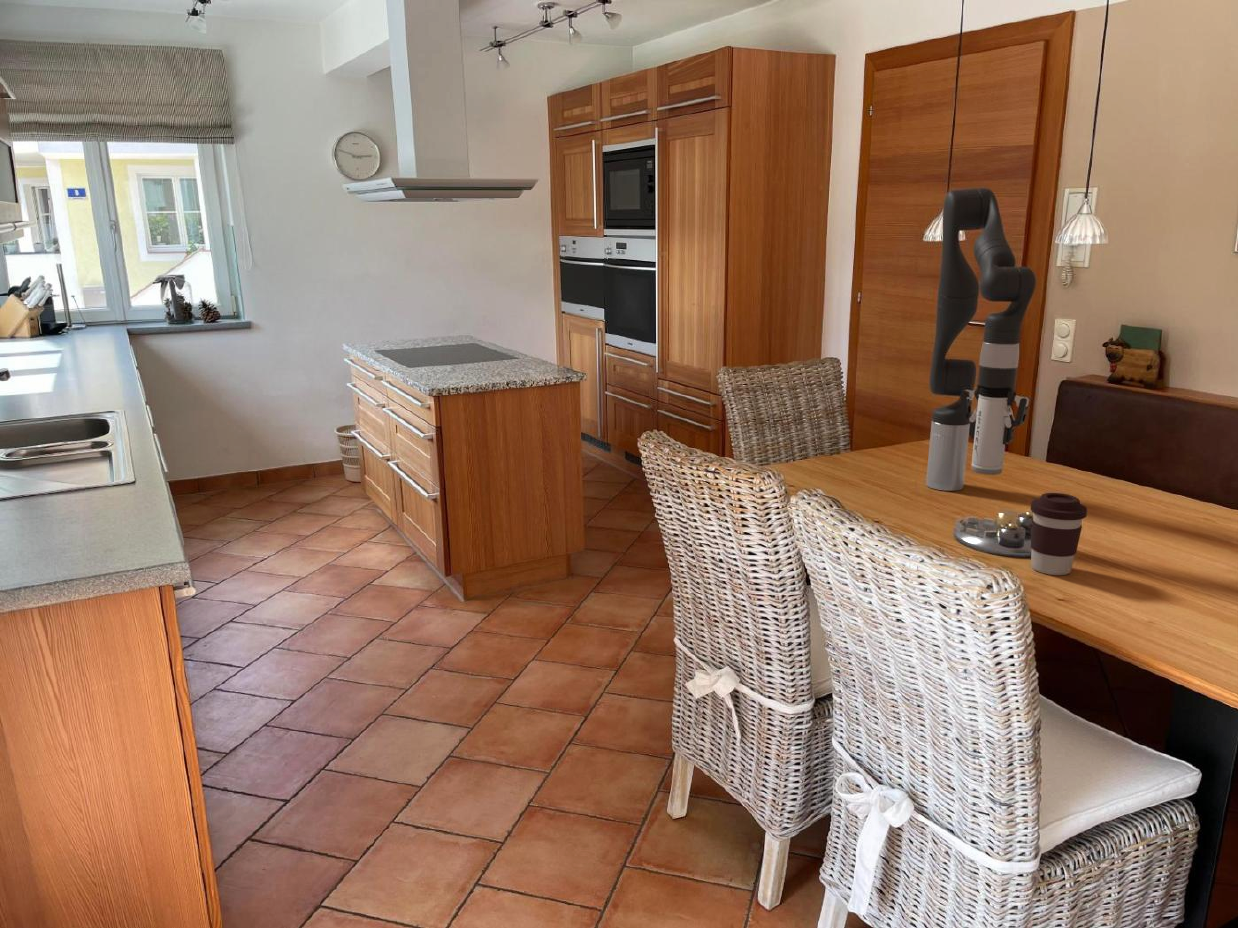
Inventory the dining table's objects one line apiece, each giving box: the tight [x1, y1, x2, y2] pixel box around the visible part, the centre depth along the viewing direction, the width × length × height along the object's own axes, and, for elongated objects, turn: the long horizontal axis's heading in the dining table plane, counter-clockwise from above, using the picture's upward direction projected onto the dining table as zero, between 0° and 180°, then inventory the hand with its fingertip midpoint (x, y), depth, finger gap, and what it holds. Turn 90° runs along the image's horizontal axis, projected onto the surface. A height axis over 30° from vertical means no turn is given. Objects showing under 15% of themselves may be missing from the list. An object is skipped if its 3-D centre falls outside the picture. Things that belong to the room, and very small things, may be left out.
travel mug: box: [970, 386, 1011, 476], centre depth 193 cm, size 6×7×20 cm
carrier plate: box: [953, 509, 1033, 559], centre depth 195 cm, size 21×21×6 cm
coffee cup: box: [1030, 492, 1088, 576], centre depth 177 cm, size 10×10×15 cm
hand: (990, 441), depth 193 cm, fingers closed on travel mug, 6 cm apart
